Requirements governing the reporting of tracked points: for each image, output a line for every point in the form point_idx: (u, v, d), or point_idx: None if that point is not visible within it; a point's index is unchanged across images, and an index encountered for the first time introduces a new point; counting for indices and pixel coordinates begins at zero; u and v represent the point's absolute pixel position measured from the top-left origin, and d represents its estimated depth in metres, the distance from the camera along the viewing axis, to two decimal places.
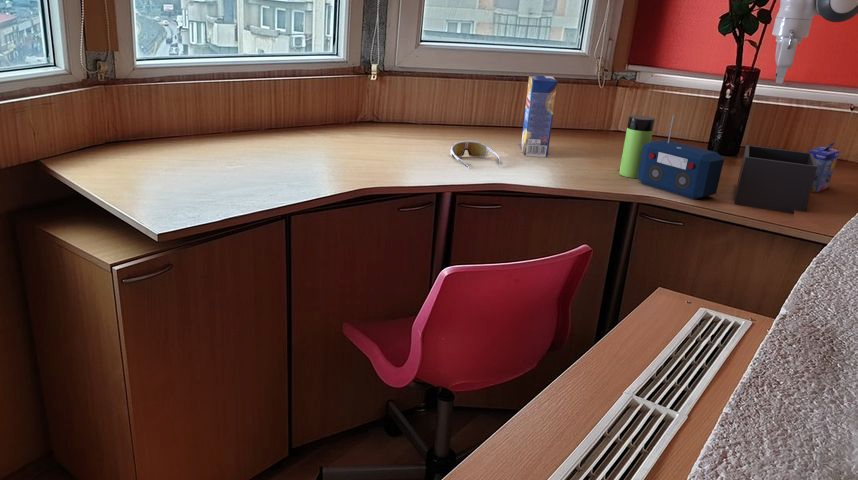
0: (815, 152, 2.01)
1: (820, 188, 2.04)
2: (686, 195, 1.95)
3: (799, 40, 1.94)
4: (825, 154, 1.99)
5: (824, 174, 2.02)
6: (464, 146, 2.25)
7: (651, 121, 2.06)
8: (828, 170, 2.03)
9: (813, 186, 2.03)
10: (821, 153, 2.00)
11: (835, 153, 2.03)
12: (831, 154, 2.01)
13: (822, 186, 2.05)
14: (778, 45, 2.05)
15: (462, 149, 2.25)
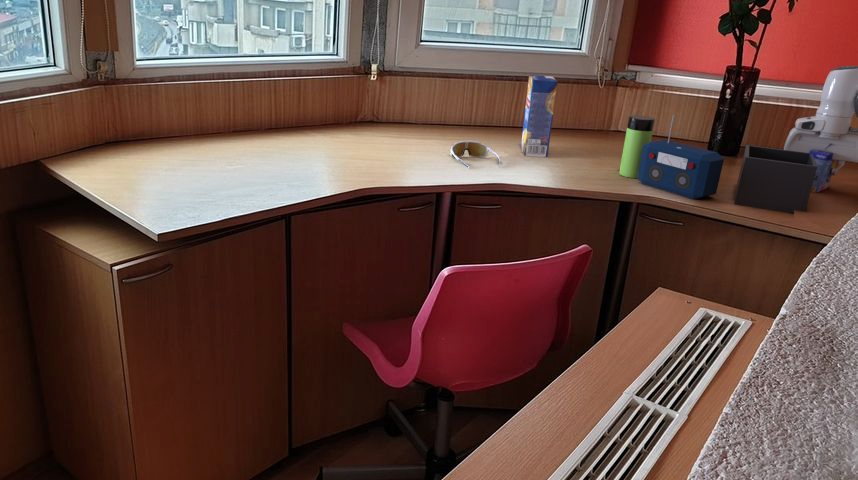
0: (815, 152, 2.01)
1: (820, 188, 2.04)
2: (686, 195, 1.95)
3: None
4: (825, 154, 1.99)
5: (824, 174, 2.02)
6: (464, 146, 2.25)
7: (651, 121, 2.06)
8: (828, 170, 2.03)
9: (813, 186, 2.03)
10: (821, 153, 2.00)
11: None
12: (831, 154, 2.01)
13: (822, 186, 2.05)
14: (796, 139, 2.04)
15: (462, 149, 2.25)
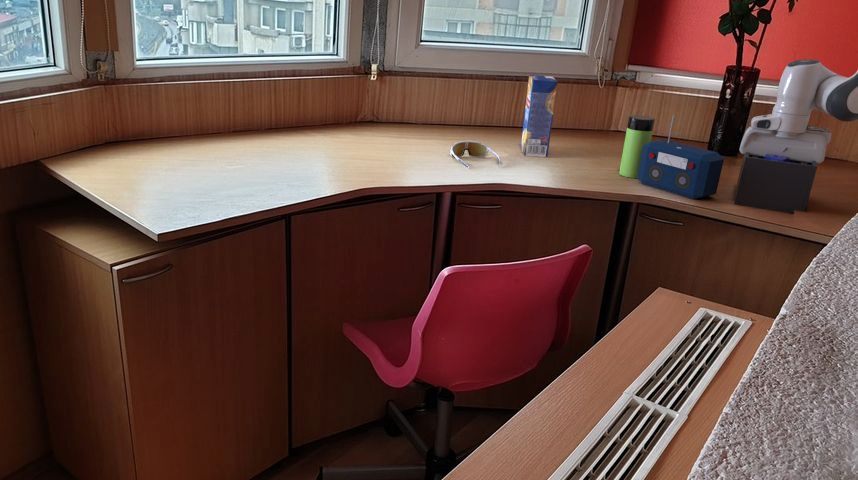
0: (770, 157, 1.88)
1: None
2: (686, 195, 1.95)
3: None
4: (781, 159, 1.87)
5: None
6: (464, 146, 2.25)
7: (651, 121, 2.06)
8: None
9: None
10: (777, 158, 1.87)
11: None
12: (787, 159, 1.88)
13: None
14: (751, 138, 1.91)
15: (462, 149, 2.25)
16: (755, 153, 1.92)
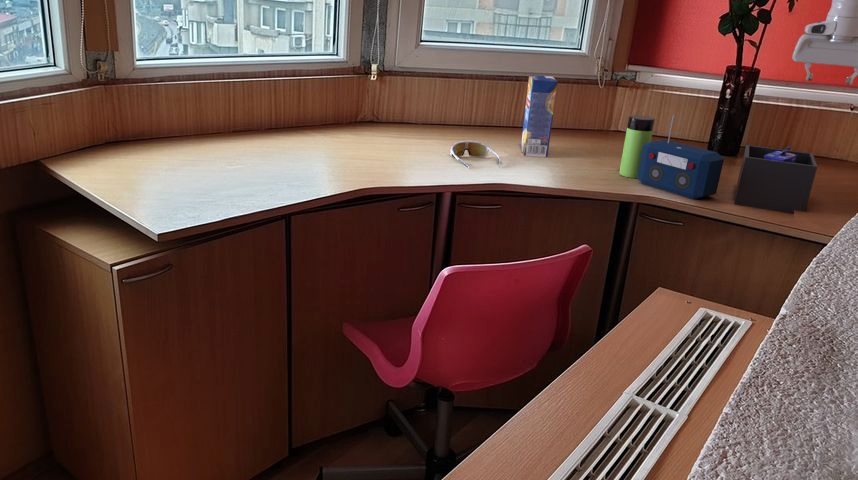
0: (771, 157, 1.88)
1: None
2: (686, 195, 1.95)
3: None
4: (781, 159, 1.87)
5: None
6: (464, 146, 2.25)
7: (651, 121, 2.06)
8: None
9: None
10: (777, 158, 1.87)
11: (792, 158, 1.90)
12: (787, 159, 1.88)
13: None
14: (805, 45, 1.92)
15: (462, 149, 2.25)
16: (808, 60, 1.92)
